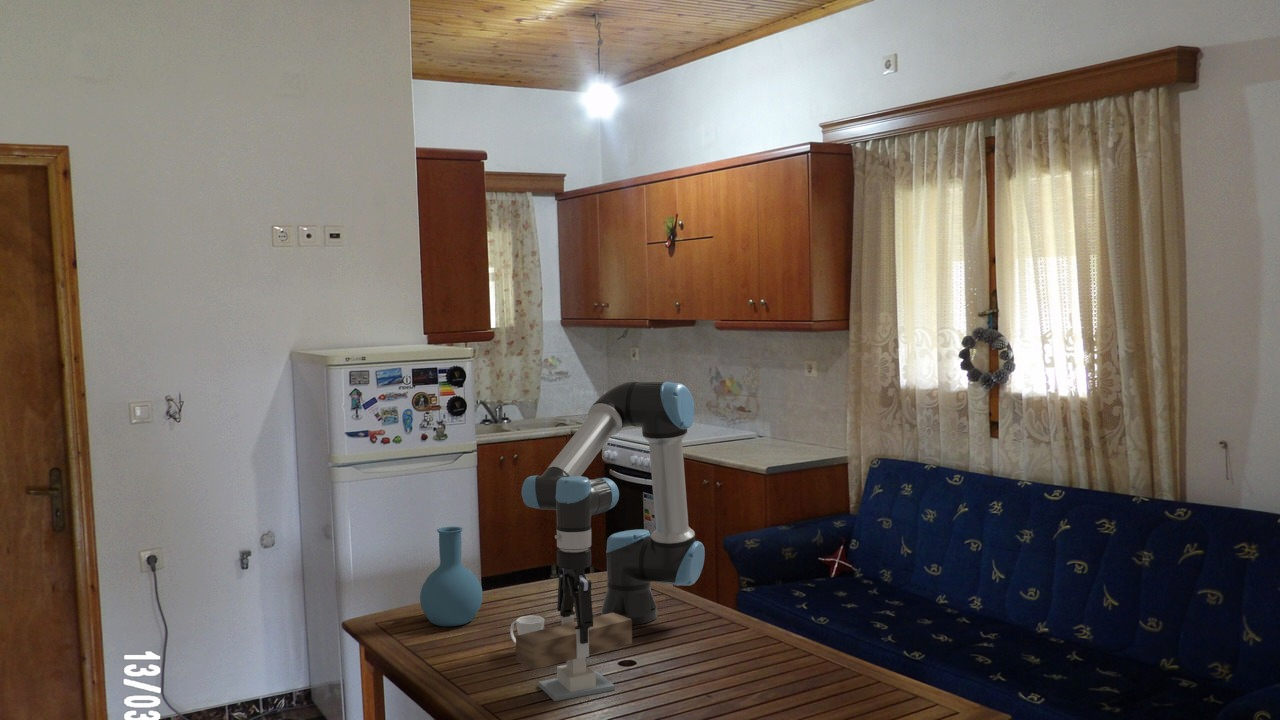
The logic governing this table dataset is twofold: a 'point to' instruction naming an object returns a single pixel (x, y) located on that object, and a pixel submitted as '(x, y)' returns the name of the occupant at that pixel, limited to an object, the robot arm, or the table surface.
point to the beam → (571, 641)
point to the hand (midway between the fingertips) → (575, 651)
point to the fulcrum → (575, 681)
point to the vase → (450, 585)
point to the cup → (527, 625)
